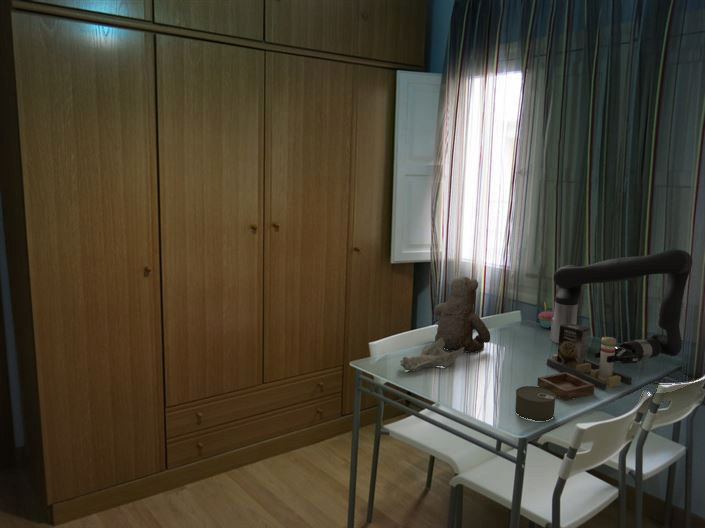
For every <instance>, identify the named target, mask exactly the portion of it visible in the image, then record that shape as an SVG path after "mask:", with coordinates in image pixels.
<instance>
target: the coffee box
mask: <svg viewBox="0 0 705 528" xmlns="http://www.w3.org/2000/svg"><path fill="white" fill-rule="evenodd" d="M590 329H591V328H590V327H588V326H587V327H586V326H582V325H578V324H576V325H575V324H571V323H566V324H562V325H560V332H559V343H557V345H558V346H557V353H556V354H557V362H559V363H562V364H564V365H566V366H569V367H571V368H573V369H576V365H579V364H584V363H586V359H587V357H588V348H589V347H588V346H589V337H590Z"/></svg>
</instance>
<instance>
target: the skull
mask: <svg viewBox="0 0 705 528" xmlns="http://www.w3.org/2000/svg"><path fill="white" fill-rule="evenodd" d="M444 345H445V342H444V340H443V338H440V339H438V340H437V341H436V342H435V341H434V342H432V343H431V345H429V347H426V346H424V347H422V349H421V352H420V354H419V355H417V356H411V357H407V356H404V357H402V360H400V361H399V362H400V366H402V367H403V369H404V370H409V371H413V370H416V369H418V370H420V369H425V368H428V367H431V366H443V367H446V368H448V367H449V366H451V365H452V363H453V362H454V361H456V359H457V358H459V357H460V356H461V355H462V354H464V353H465V352H464V351H463V349H464V347H463V348H461V349H459V350H457V351H451V352H446V350H445V349H443V347H444ZM433 349H435V351H433V353H431V351H432V350H433ZM430 353H431V354H430ZM419 368H420V369H419ZM416 371H417V370H416ZM413 372H414V371H413Z"/></svg>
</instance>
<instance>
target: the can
mask: <svg viewBox="0 0 705 528" xmlns="http://www.w3.org/2000/svg"><path fill="white" fill-rule="evenodd" d="M515 394H516V395H515V411H516V413H517V414H519V416H521V417H524V418H526V419H527V418H528V419H532V420H535V421H546V420H549V419H551V418H552V417H553V415H554V416H555V408H556V405H555V404H556V400H557V396H556V395H555V393H553V392H552V391H550V390H548V389H545V388H541V387H537V386H533V385H531V386H530V385H527V386H521V387H518V388H516V390H515ZM515 411H514V412H515ZM516 413H515V414H516Z"/></svg>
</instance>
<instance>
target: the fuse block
mask: <svg viewBox="0 0 705 528" xmlns="http://www.w3.org/2000/svg"><path fill="white" fill-rule="evenodd" d="M557 354H558V353H555V354H552V355H551V356H552V357H551V358H547V360H546V366H548V367H551V368H553V369H554V370H557V371H559V370H560V372H561V373H563V372H567V373H569V374H571V375H574V376H576V377H578V378H580V379H583V380H585V381H587V382H589V383H591V384H594V385H595V387H594V388H597V389H600V390H602V391H607V387H608V388H612V387H617V386H620V385H621V382H622V383H623V382H624V384H625V385H632V380H633V378H632V376H629V375H626V374H625V373H621V372H619V371H617V370H614V369H613V376H611V377H607V382H606V383H605V382H603V381H601V380H599V379H598V375H599V364H600V363H597V362H594V361H592V360H590V359H588V358H586V363H584V364H579V365H576V369H573V368H571V367H569V366H566V365H564V364H562V363H559V362H557ZM586 373H590V374H586Z"/></svg>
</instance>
